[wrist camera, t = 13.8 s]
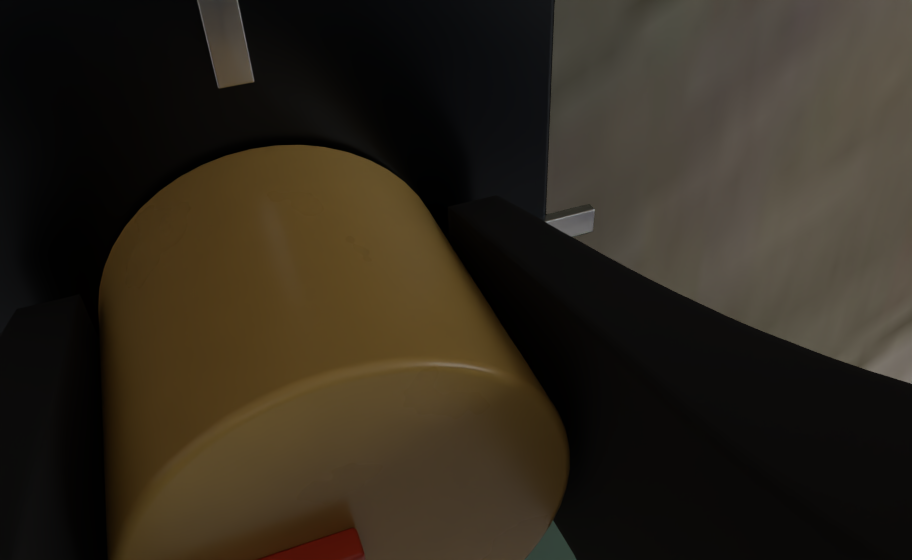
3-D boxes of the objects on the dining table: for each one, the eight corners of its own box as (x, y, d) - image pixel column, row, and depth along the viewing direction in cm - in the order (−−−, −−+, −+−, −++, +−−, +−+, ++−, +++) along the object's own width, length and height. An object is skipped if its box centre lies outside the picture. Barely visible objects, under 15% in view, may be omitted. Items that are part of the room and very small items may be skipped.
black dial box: (499, -209, 10) (628, -169, 8) (500, 327, 16) (574, 445, 13) (-718, -89, 7) (-1114, 37, 5) (-176, 520, 13) (-233, 714, 10)
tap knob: (432, 108, 9) (608, 329, 6) (447, 368, 11) (576, 613, 8) (43, 186, 8) (24, 501, 5) (154, 454, 10) (185, 766, 7)
